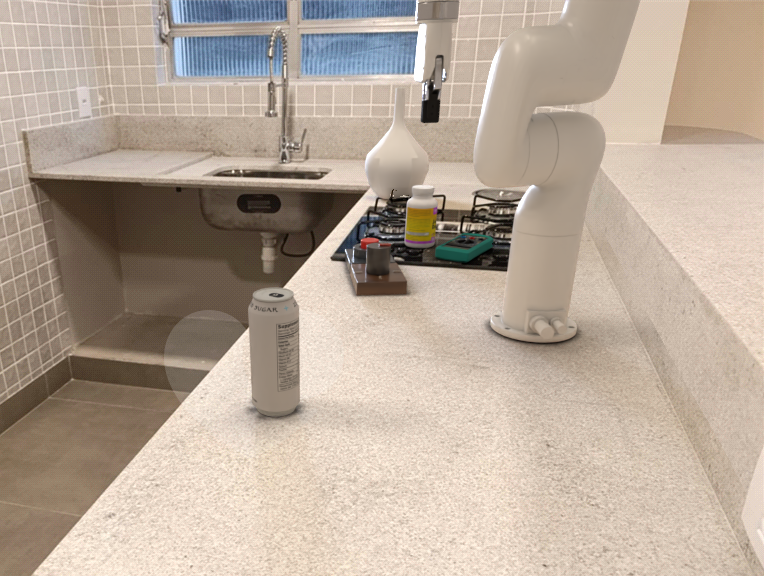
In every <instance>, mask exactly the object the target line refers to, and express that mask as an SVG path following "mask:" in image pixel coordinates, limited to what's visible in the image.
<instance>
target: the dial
mask: <svg viewBox="0 0 764 576" xmlns="http://www.w3.org/2000/svg"><path fill="white" fill-rule="evenodd" d="M391 255H392V243H391V242H389V243H388V242H387V243H386V242H379V243H371V244H368V245H367V254H366V273H368V274H370V275H386V274H388V273H390V257H391Z"/></svg>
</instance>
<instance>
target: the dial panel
mask: <svg viewBox="0 0 764 576" xmlns="http://www.w3.org/2000/svg"><path fill="white" fill-rule="evenodd" d="M349 277H350V280H351V283H352V287H353V289H354V292H355V295H356V296H358V297H359V296H392V295H393V296H396V295H407V292H408V280H407V278H406V276H405V275H404V273H403V271H402V269H401V267H400V266H399V264H398V263H397V262H396V263H390V273H388V274H386V275H370V274H368V273H366V264H351V267H350V274H349Z"/></svg>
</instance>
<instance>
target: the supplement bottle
mask: <svg viewBox="0 0 764 576" xmlns="http://www.w3.org/2000/svg"><path fill="white" fill-rule="evenodd" d="M434 193H435V186H434V185H429V184H423V185H416V186H413V187H412V194H413V197H411V198H408V200H407V202H406V209H405V211H406V212H405V227H404V228H405V229H404V241H403V242H404V245H405V246H406V247H408V248H411V249H412V248H413V249H429V248H431V247H433V246H434V245H435V242H436V234H437V233H436V231H437V218H438V200H437V199H436V198H434Z"/></svg>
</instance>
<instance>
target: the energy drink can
mask: <svg viewBox="0 0 764 576" xmlns="http://www.w3.org/2000/svg"><path fill="white" fill-rule="evenodd" d="M294 296H295V293H294V291H293V290H292V289H289V288H285V287H278V286H277V287H273V286H272V287H264V288H260V289H257V290H255V291H254V292H253V293H252V299H251V302H250V304H249V305H248V307H247V309H248V310H247V312H248V313H247V316H248V336H249V337H248V339H249V361H250V362H249V363H250V383H251V386H250V387H251V403H252V405H253V406H254V407H255V408H256V410H257V412H258V413H260V414H262V415H264V416H267V417H273V418H275V417H277V418H278V417H279V418H280V417H284V416H288V415H291V414H292V413H293V412H295V410H296V407H297V406H299V404H300V403H301V372H300V371H301V368H300V364H301V358H300V357H301V355H300V354H301V353H300V350H301V349H300V307H299V304H298V301H296V299H295V297H294Z"/></svg>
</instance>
